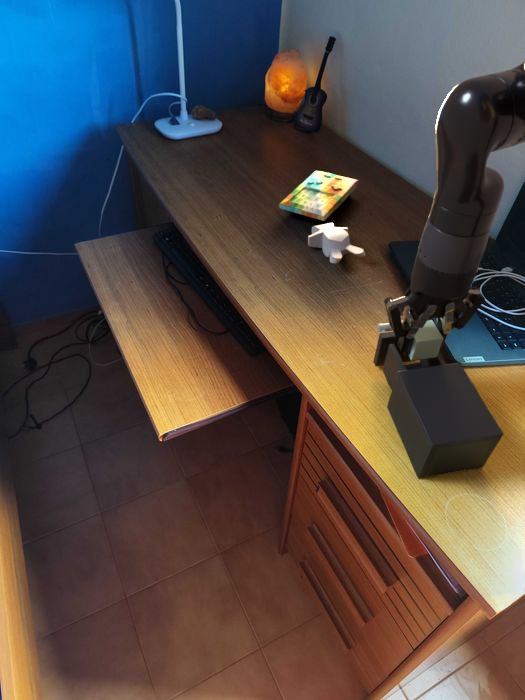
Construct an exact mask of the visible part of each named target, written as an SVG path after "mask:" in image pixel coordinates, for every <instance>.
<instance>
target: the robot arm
mask: <svg viewBox="0 0 525 700" xmlns="http://www.w3.org/2000/svg"><path fill="white" fill-rule="evenodd" d="M523 143H525V61H523V62H521V63H520V64H518V65H516V66H514V67H513V68H511V69H507V70H503V71H498V72H493V73H490V74H485V75H479V76H474V77H469V78H467V79H465V80H463V81H461V82H459V83H458V84H457V85H455V86H454V87H453V88H452V90H451V91H450V92H449V93H448V94H447V96H446V98H445V99H444V101H443V103H442V105H441V107H440V109H439V111H438V115H437V119H436V124H435V157H436V158H435V163H436V165H435V167H436V169H435V171H436V189H435V192H434V195H433V200H432V203H431V206H430V210H429V214H428V218H427V220H426V222H425V225H424V227H423V230H422V232H421V236H420V240H419V244H418V246H417V247H418V248H417V253H416V256H415V260H414V264H413V268H412V272H411V277H410V286H409V287H408V289H407V290H406V291H405V293H404V295H403V296H401V297H398V298H396V299H394V297H392V296H387V297H386V298H385V299H384V307H385V310H386V316H387V319H388V323H389V324H390V326H391V328H392V330H393V332H394V334H395V336H396V337H399V340H398V346H399V348H400V350H401V352H403V353H404V355H409V354H410V352H411V348H412V345H413V341H414V336H415V335H416V333H417V331H418V330H419V328H423V327H424V325H425V323H426V322H427V321H428V320H432V319H435V320H436V321H435V322H436V324H435V323H434V324H435V325H436V327H437V329H438V330H439V332H440V334H441V335H442V337H443V341H442V344H441V347H440V348H442V347H443V346H444V345H445V342H446V339H447V337H448V335H449V334H450V333H451V332H452V330H453V329H456V330H462V329H463V328H464V327H465V326H466V325H467V324H468V322H469V321H470V320H471V319H472V318H473V316H474V315H475V314H476V312H477V311H478V310H479V309H480V308H481V306H482V305H483V303H484V302H485V301H486V298H485V296H484V295H483V294H482V292H481V290H479V288H477V286H472V285H473V283H474V280H475V278H476V276H477V275H476V274H477V272H478V270H479V266H480V264H481V262H482V260H483V256H484V254H485V251H486V248H487V245H488V241H489V236H490V231H491V228H492V226H493V223H494V221H495V218H496V215H497V212H498V210H499V208H500V206H501V205H500V204H501V201H502V199H503V195H504V191H505V180H504V178H503V176H502V174H500V172H498V171H497V170H496V169H494V168H492V167H490V166H487V163H488V159H489V157H490V155H491V153H493V152H497V151H500V150H504V149H508V148H511V147H515V146H518V145H521V144H523ZM407 306H408V307H407ZM406 307H407V309H406V311H405V308H406ZM404 311H405V316H404ZM402 316H404V318H403V320H402ZM402 321H403V322H402ZM410 325H411V326H410Z"/></svg>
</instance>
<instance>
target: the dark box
mask: <svg viewBox="0 0 525 700" xmlns="http://www.w3.org/2000/svg"><path fill="white" fill-rule="evenodd" d="M446 364H447V363H446ZM386 408H387V411H388V412H389V415H390V417H391V419H392V422H393V424H394V427H395V429H396V431H397V433H398V436H399V438H400V440H401V443H402V445H403V447H404V450H405V452H406V455H407V457H408V459H409V461H410V463H411V466H412V468H413V471H414V473H415V475H416V477H417V479H424V478H430V477H434V476H435V477H436V476H442V475H446V474H447V475H448V474H454V473H460V472H466V471H472V470H479V469H483V468H484V467H485V465H486V463H487V462H488V460H489V458H490V457H491V455H492V454H493V453H494V450H495V449H496V448H497V446H498V444H499V442H500V441H501V439H502V437H503V436H504V432H503V430H502V428H501V427H500V426H499V424H498V422H497V421H496V419H495V417H494V416H493V414H492V413H491V411H490V410H489V408H488V406H487V404H486V403H485V401H484V400H483V398H482V396H481V395H480V393H479V392H478V390H477V388H476V387H475V385H474V384H473V382H472V380H471V379H470V377H469V375H468V373H467V372H466V370H465V369H464V368H463V365H462V364H461V362H456V363H448V364H447V365H440V366H433V367H426V368H419V369H411V370H404V371H398V372H397V374H396V378H395V381H394V385H393V388H392V390H391V392H390V395H389V399H388V403H387V406H386Z"/></svg>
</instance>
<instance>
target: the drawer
mask: <svg viewBox="0 0 525 700" xmlns="http://www.w3.org/2000/svg"><path fill="white" fill-rule="evenodd" d="M401 321H402V322H403V320H401ZM376 330H377V332H378V333H379V334H378V338H377V339H378V340H377V343H376V349H375V351H374V352H375V353H374V356H373V360H372V361H373V364H374V367H381V366H383V367H382V372H383V375H384V377H385V380H386V381H387V384H388V386H389V388H390V391H392V388H393V385H394V381H395V378H396V374H397V372H398V371H404V370H411V369H419V368H426V367H433V366H440V365H447V362H446V361H445V359H444V358H443V355H442V354H441V352H440V351H439V352H438V355H437V357H435V358H427V359H420V360H413V361H411V359H410V357H409V355H404V353H403V352H401V350H400V348H399V346H398V340H399V337H396V336H395V334H394V332H393V330H392V328H391V326H390V324H389V322H385V323H378V324H377V325H376ZM418 361H419V362H418ZM411 362H413V363H411ZM414 362H416V363H414ZM405 363H406V364H405ZM407 363H408V364H407Z"/></svg>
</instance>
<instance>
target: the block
mask: <svg viewBox="0 0 525 700" xmlns="http://www.w3.org/2000/svg"><path fill="white" fill-rule="evenodd" d="M410 326H411V325H410ZM442 341H443V337H442V335H441V334H440V332H439V330H438V329H437V327H436V325H435V322H434V321H433V320H432V319H428V320H427V322H426V323H425V325H424V327H423V328H419V330H418V331H417V333H416V335H415V336H414V341H413V345H412V348H411V352H410V354H409V357H410V359H411V361H412V362H414V361H413V360H419V361H420V359H427V358H435V357H437V355H438V352H440V350H441V348H442V347H441V344H442Z"/></svg>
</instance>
